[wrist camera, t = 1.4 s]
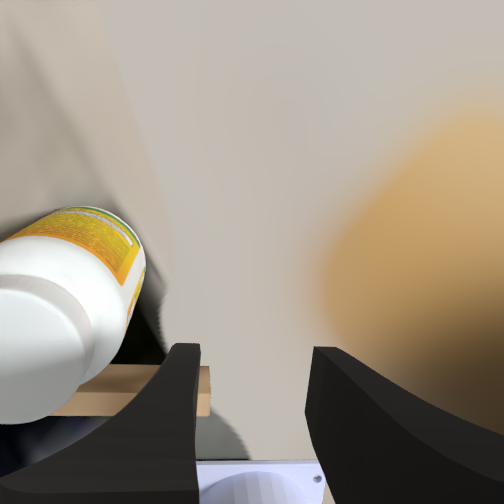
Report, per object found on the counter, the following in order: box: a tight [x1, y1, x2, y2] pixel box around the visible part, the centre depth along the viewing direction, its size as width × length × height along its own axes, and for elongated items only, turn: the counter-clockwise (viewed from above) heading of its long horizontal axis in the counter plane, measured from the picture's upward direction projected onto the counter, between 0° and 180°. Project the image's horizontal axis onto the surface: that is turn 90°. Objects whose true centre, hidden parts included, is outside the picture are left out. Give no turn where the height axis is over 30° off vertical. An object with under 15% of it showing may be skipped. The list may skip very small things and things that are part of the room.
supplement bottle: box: [0, 206, 146, 424], centre depth 16 cm, size 5×5×10 cm
